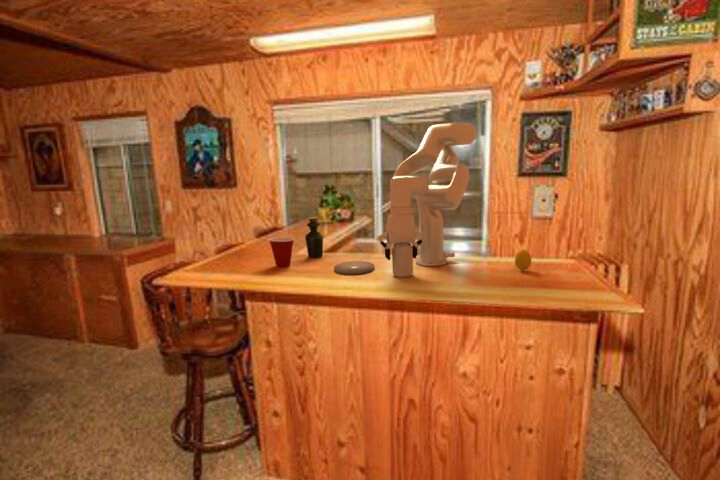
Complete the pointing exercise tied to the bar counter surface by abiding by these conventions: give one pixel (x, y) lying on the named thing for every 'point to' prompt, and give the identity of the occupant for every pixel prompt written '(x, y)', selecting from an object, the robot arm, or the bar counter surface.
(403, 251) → the can
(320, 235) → the potion bottle
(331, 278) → the bar counter surface
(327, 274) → the bar counter surface
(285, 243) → the plastic cup
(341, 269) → the dish
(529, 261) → the lemon
